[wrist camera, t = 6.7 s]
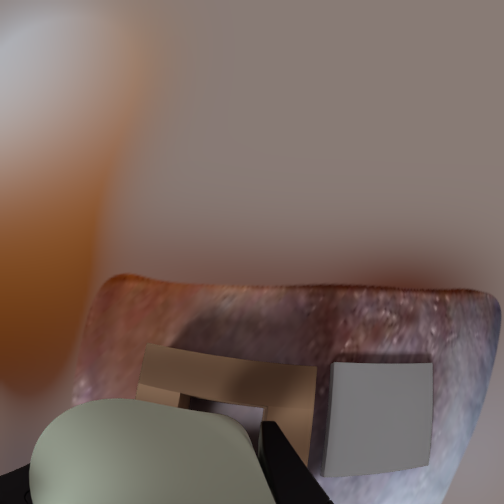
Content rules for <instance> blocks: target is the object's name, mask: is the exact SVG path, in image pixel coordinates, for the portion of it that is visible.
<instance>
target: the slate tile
mask: <svg viewBox="0 0 504 504" xmlns="http://www.w3.org/2000/svg"><path fill="white" fill-rule="evenodd" d="M432 411H433V368H432V363H412V364H374V363H343V362H334V363H332V364H331V367H330V384H329V398H328V410H327V421H326V432H325V441H324V450H323V458H322V466H321V473H320V475H321V476H322V477H345V476H359V475H370V474H379V473H386V472H394V471H400V470H406V469H412V468H417V467H422V466H427V465H428V464H429V455H430V445H431V432H432Z"/></svg>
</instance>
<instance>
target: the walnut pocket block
mask: <svg viewBox="0 0 504 504" xmlns="http://www.w3.org/2000/svg"><path fill="white" fill-rule="evenodd" d="M316 375H317V366H303V365H291V364H280V363H270V362H261V361H253V360H245V359H237V358H230V357H223V356H216V355H210V354H204V353H198V352H192V351H186V350H181V349H176V348H170V347H165V346H160V345H156V344H151V343H147V345H146V349H145V354H144V358H143V363H142V367H141V372H140V377H139V382H138V387H137V392H136V397H135V400H141V401H146V402H151V403H156V404H161V405H166V406H171V407H176V408H182V409H188V410H189V404H190V398H191V397H192V398H198V399H203V400H209V401H215V402H221V403H228V404H235V405H243V406H251V407H260V408H264V410H263V417H262V421H275V422H276V423H277V424H278V426H279V427H280V429H281V430H282V432H283V433H284V435H285V436H286V438H287V439H288V441H289V442H290V444H291V445H292V447H293V448H294V449H295V451H296V452H297V454H298V455H299V457H300V458H301V460H302V461H303V462H304V464H305V465H306V467H307V464H308V456H309V448H310V440H311V431H312V421H313V411H314V400H315V388H316ZM257 459H258V455H257Z"/></svg>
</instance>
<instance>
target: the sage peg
mask: <svg viewBox="0 0 504 504" xmlns="http://www.w3.org/2000/svg"><path fill="white" fill-rule="evenodd" d="M29 485H30V492H31V498H32V502H33V504H276V503H275V501H274V498H273V496H272V494H271V491H270V489H269V486H268V484H267V481H266V479H265V477H264V474H263V472H262V469H261V467H260V464H259V461H258V459H257V456H256V454H255V451H254V449H253V446H252V443H251V441H250V438H249V435H248V433H247V431H246V430H245V429H244V427H243V426H242V425H241V424H240V423H239V422H237V421H236V420H234V419H233V418H231V417H228V416H225V415H222V414H215V413H208V412H201V411H194V410H188V409H182V408H176V407H171V406H166V405H161V404H156V403H151V402H146V401H141V400H134V399H122V398H118V399H102V400H96V401H90V402H87V403H84V404H81V405H77V406H75V407H73V408H71V409H69V410H67V411H65V412H64V413H62V414H61V415H60V416H58V417H57V418H55V419H54V420H53V421H52V423H50V424H49V425H48V426H47V427H46V429H45V430H44V432H43V433H42V434H41V436H40V438H39V440H38V441H37V443H36V446H35V448H34V451H33V454H32V458H31V462H30V470H29Z"/></svg>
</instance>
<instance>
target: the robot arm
mask: <svg viewBox="0 0 504 504" xmlns="http://www.w3.org/2000/svg"><path fill="white" fill-rule="evenodd" d="M258 461H259V464H260V467H261V469H262V472H263V474H264V477H265V479H266V481H267V484H268V486H269V489H270V491H271V494H272V496H273V498H274V501H275V503H276V504H334V503H333V502H332V501H331V500H330V498H329V497H328V495H327V494H326V493H325V491H324V490H323V489H322V487H321V486H320V485H319V483H318V482H317V481H316V479H315V478H314V476H313V475H312V474H311V472H310V471H309V469H308V468H307V467H306V465H305V464H304V462H303V461H302V460H301V458H300V457H299V455H298V454H297V452H296V451H295V449H294V448H293V447H292V445H291V444H290V442H289V441H288V439H287V438H286V436H285V435H284V433H283V432H282V430H281V429H280V427H279V426H278V424H277V423H276V422H275V421H262V422H261V425H260V433H259V442H258ZM29 470H30V463H29V464H27V465H26V466H23V467H21V468H19V469H16V470H14V471H12V472H9V473H7V474H4V475H1V476H0V504H33V502H32V498H31V492H30V485H29Z"/></svg>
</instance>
